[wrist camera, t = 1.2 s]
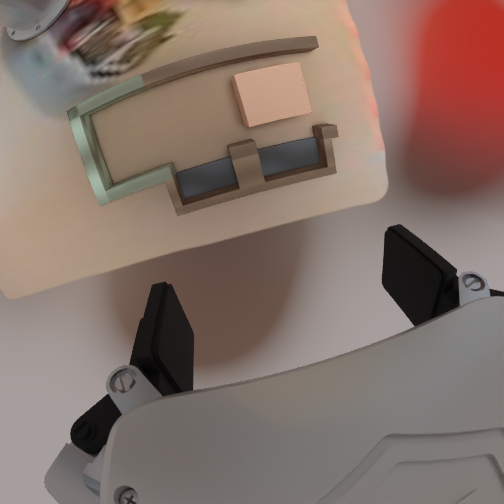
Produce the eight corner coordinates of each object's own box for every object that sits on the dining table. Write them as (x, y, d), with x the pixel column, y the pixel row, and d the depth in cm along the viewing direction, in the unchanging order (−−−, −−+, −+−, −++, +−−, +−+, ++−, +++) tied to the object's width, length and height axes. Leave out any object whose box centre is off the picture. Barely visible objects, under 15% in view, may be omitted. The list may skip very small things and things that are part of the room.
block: (230, 80, 28) (233, 74, 23) (286, 68, 28) (298, 61, 23) (244, 125, 31) (249, 127, 26) (298, 112, 31) (311, 112, 26)
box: (77, 110, 26) (66, 110, 23) (307, 41, 26) (315, 36, 23) (120, 228, 34) (113, 237, 32) (334, 166, 35) (343, 171, 32)
